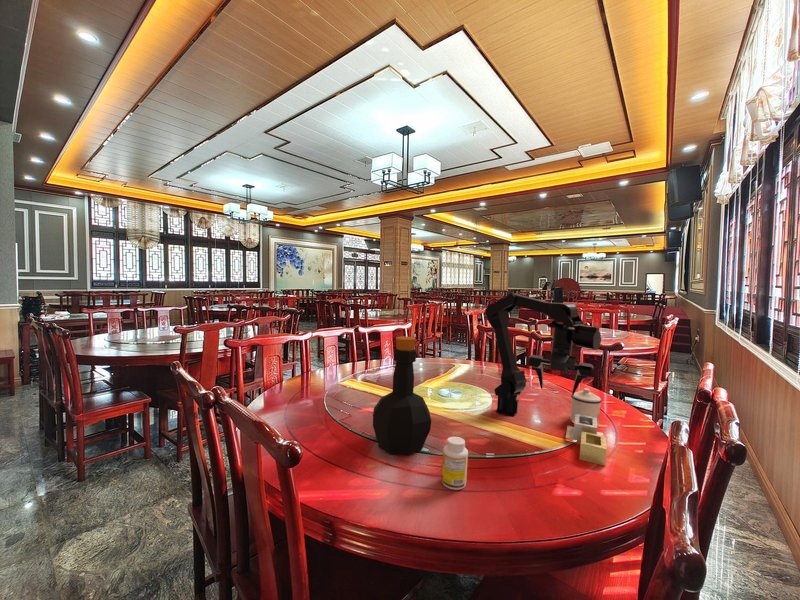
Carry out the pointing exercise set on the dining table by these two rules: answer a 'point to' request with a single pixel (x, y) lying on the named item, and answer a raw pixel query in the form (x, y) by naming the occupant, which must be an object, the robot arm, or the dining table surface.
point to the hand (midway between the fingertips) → (557, 391)
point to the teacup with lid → (585, 404)
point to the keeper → (571, 431)
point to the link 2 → (593, 448)
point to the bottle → (402, 407)
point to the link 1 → (584, 425)
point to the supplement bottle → (454, 464)
